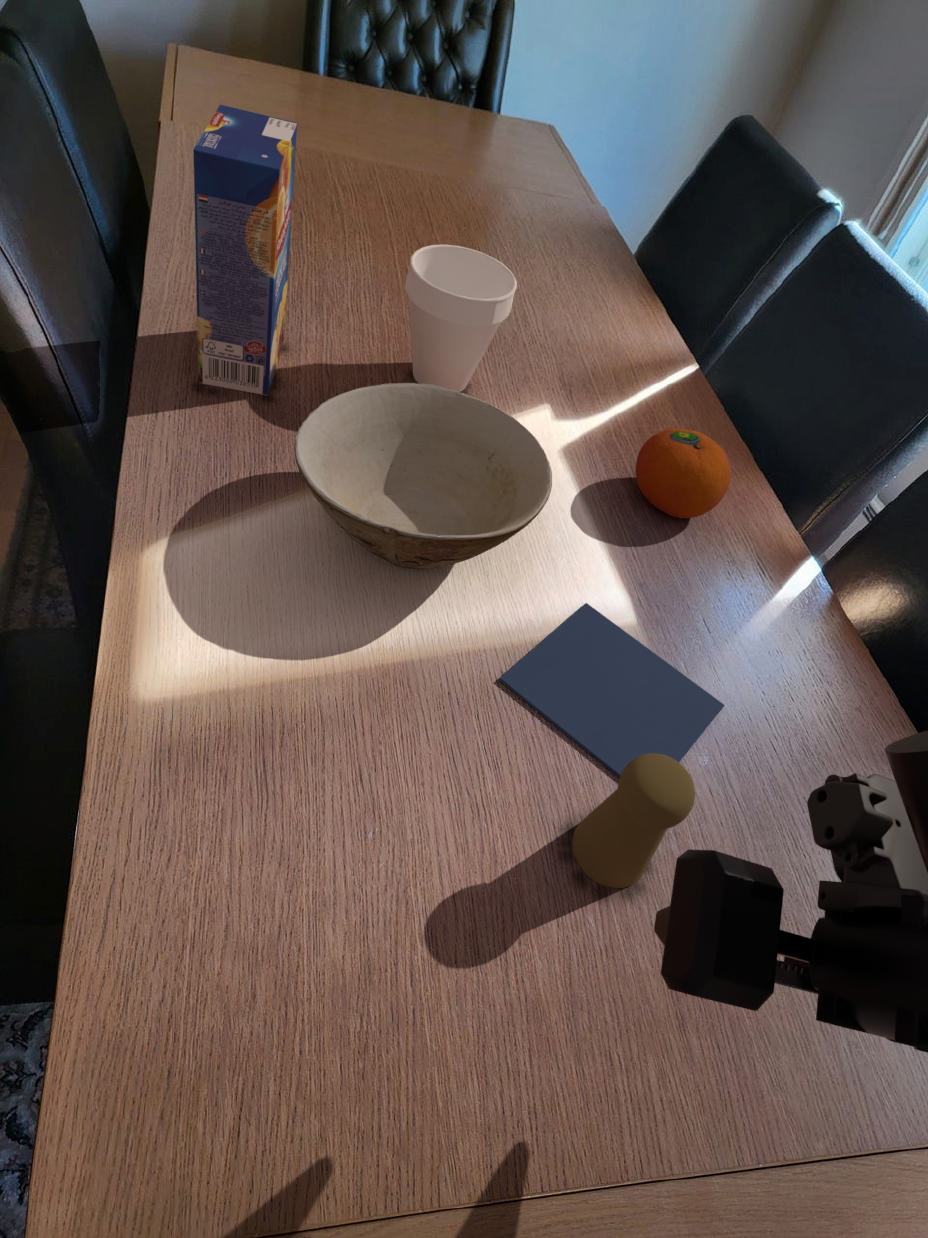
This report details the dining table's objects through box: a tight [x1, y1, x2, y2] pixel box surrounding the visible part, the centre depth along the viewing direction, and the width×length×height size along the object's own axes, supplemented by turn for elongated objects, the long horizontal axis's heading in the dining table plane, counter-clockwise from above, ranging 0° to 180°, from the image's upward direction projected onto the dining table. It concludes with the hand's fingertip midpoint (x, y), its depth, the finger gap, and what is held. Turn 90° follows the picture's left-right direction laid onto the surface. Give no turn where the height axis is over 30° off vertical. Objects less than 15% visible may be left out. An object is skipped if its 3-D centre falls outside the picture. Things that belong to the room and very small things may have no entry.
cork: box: [571, 753, 696, 889], centre depth 60 cm, size 6×6×11 cm
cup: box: [404, 244, 518, 393], centre depth 96 cm, size 12×12×14 cm
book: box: [498, 602, 725, 779], centre depth 74 cm, size 16×14×1 cm
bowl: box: [293, 382, 553, 569], centre depth 79 cm, size 24×24×10 cm
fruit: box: [635, 428, 732, 519], centre depth 92 cm, size 11×10×8 cm
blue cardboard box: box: [192, 104, 298, 396], centre depth 86 cm, size 12×8×24 cm, turn 0°
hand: (723, 940), depth 47 cm, fingers open, 9 cm apart
